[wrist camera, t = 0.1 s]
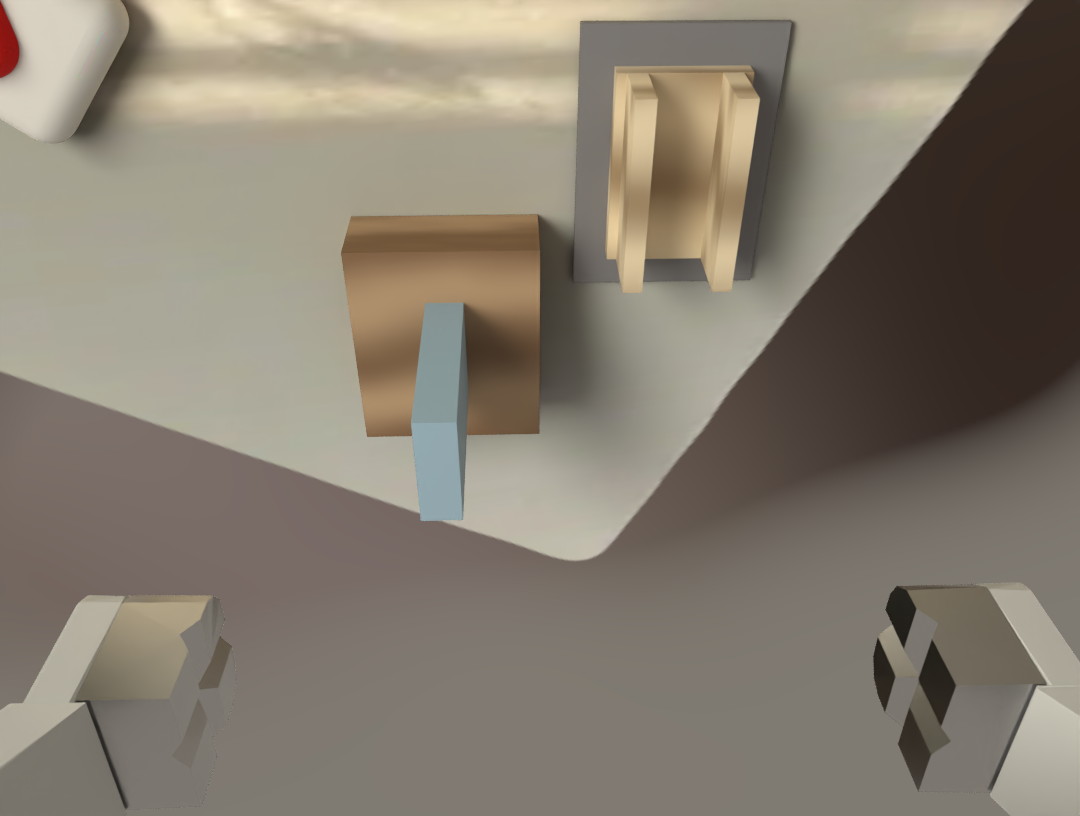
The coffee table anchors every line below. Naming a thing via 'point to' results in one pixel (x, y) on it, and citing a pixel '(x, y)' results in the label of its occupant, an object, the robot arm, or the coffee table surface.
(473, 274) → the block
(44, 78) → the icon
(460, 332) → the pale blue rectangular prism
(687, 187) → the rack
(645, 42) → the mat
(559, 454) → the coffee table surface
